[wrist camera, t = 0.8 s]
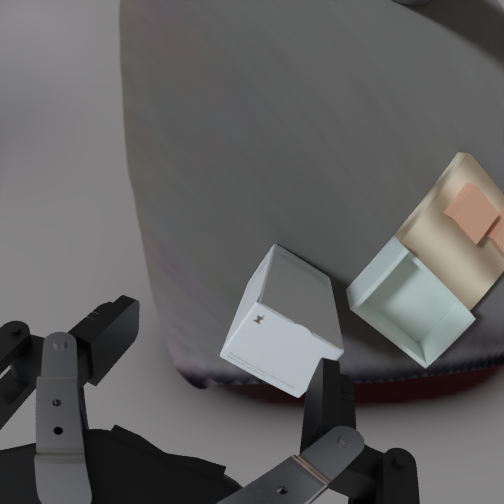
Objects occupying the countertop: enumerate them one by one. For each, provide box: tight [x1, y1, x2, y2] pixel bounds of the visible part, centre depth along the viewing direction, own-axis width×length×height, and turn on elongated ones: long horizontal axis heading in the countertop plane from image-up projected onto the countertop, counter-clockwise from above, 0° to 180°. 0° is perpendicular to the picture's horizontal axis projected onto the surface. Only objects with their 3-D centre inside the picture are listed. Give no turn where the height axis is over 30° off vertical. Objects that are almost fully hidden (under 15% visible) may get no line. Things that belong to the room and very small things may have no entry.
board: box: [394, 152, 504, 311], centre depth 31 cm, size 13×14×3 cm
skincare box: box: [220, 244, 344, 398], centre depth 31 cm, size 8×7×16 cm
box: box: [346, 236, 475, 368], centre depth 34 cm, size 9×14×5 cm, turn 54°
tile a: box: [444, 182, 499, 244], centre depth 28 cm, size 4×4×2 cm
